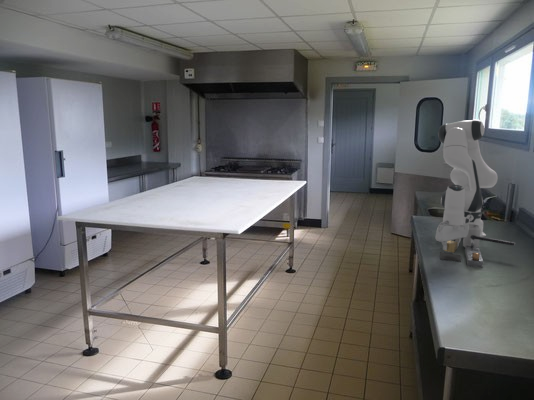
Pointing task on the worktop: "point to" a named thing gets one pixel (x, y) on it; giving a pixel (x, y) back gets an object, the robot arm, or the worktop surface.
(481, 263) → the body
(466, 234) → the robot arm
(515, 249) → the worktop surface
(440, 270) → the worktop surface
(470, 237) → the lever
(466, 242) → the can
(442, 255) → the mat
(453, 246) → the brown wooden block
